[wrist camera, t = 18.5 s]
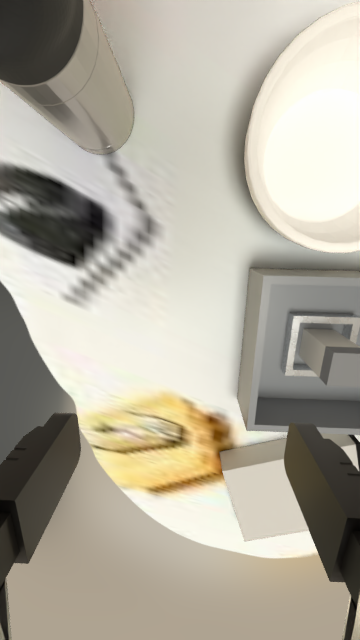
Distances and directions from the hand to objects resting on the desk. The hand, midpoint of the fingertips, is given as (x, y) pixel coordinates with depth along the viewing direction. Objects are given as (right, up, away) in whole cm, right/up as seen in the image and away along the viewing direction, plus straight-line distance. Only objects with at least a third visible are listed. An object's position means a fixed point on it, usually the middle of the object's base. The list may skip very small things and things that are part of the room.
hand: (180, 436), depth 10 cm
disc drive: (+20, -25, +41) cm, 52 cm away
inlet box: (+21, +1, +32) cm, 39 cm away
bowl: (+18, +25, +25) cm, 40 cm away
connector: (+21, +1, +31) cm, 38 cm away
